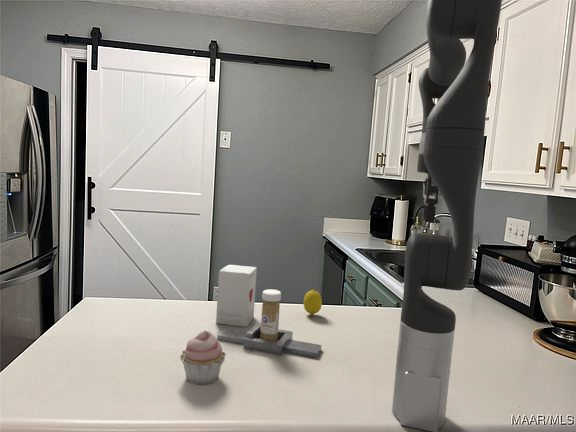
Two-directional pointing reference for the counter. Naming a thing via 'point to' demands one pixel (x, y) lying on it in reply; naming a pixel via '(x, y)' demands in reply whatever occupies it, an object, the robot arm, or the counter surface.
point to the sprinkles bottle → (270, 315)
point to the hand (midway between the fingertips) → (428, 220)
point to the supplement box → (236, 295)
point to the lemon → (312, 302)
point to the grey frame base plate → (270, 342)
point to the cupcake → (203, 358)
